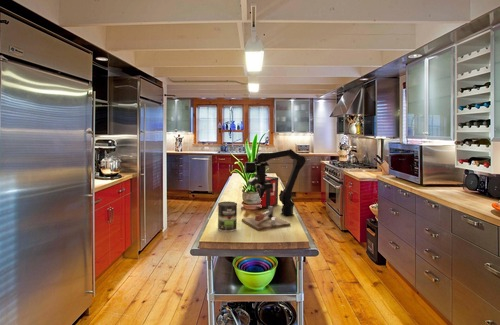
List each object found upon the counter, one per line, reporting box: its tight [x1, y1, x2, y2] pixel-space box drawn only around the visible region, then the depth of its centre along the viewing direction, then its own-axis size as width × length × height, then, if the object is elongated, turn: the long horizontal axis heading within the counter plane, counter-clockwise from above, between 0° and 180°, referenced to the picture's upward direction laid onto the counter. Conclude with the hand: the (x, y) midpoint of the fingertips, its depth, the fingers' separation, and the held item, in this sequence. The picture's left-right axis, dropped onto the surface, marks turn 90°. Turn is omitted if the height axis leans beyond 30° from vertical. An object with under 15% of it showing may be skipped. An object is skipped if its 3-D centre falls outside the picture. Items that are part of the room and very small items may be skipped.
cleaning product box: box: [255, 175, 279, 210], centre depth 222 cm, size 16×9×20 cm, turn 148°
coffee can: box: [217, 201, 238, 233], centre depth 169 cm, size 10×10×14 cm
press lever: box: [254, 206, 274, 221], centre depth 183 cm, size 20×3×6 cm, turn 152°
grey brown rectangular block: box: [271, 217, 275, 226], centre depth 175 cm, size 6×2×3 cm, turn 172°
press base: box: [241, 214, 292, 232], centre depth 181 cm, size 21×20×2 cm
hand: (261, 197), depth 195 cm, fingers closed
